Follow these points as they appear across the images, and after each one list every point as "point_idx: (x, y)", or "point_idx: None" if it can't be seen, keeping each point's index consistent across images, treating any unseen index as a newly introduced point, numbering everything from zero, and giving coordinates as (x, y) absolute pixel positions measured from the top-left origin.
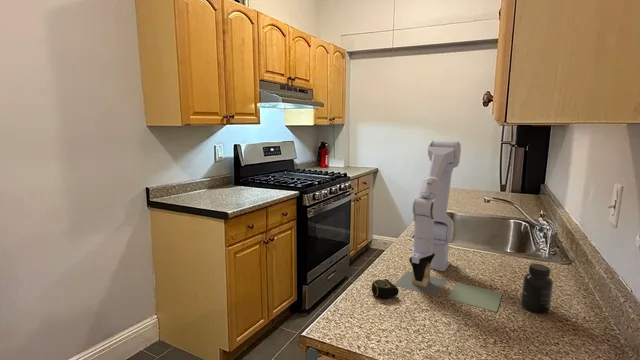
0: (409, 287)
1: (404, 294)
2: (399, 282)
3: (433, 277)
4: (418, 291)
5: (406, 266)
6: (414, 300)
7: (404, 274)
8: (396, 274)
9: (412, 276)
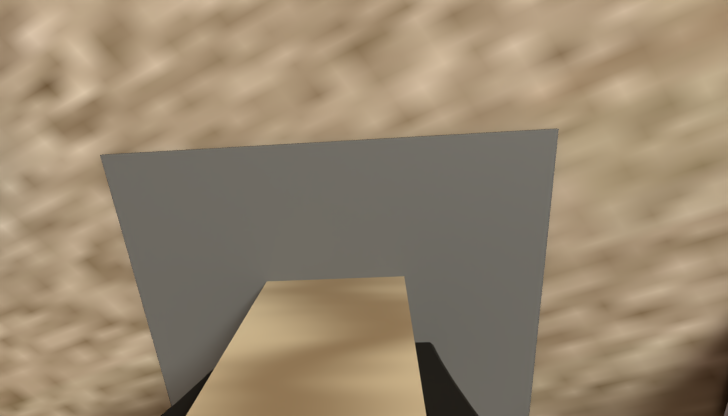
0: (171, 294)
1: (35, 302)
2: (197, 178)
3: (521, 387)
4: (164, 372)
5: (721, 45)
6: (19, 388)
7: (431, 138)
8: (386, 49)
9: (238, 331)
